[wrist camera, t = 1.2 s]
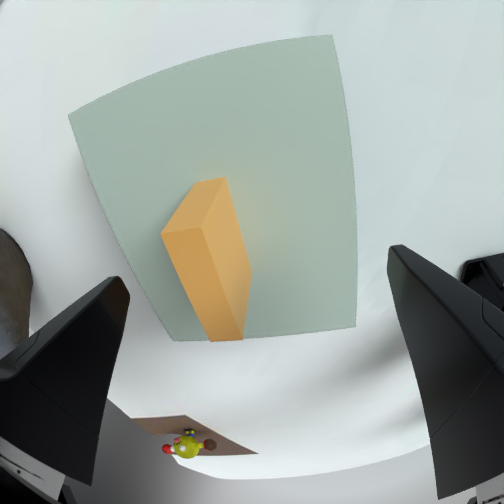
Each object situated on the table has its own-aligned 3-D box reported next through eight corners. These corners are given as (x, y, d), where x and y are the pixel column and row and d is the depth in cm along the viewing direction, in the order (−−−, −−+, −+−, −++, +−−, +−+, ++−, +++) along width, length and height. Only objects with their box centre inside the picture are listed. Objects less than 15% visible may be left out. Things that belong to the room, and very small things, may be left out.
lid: (351, 307, 21) (366, 387, 15) (179, 323, 23) (156, 393, 18) (325, 40, 11) (363, 12, 5) (87, 108, 14) (3, 141, 8)
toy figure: (204, 419, 45) (198, 451, 40) (227, 428, 47) (223, 459, 42) (157, 429, 53) (151, 454, 48) (177, 437, 55) (172, 462, 50)
